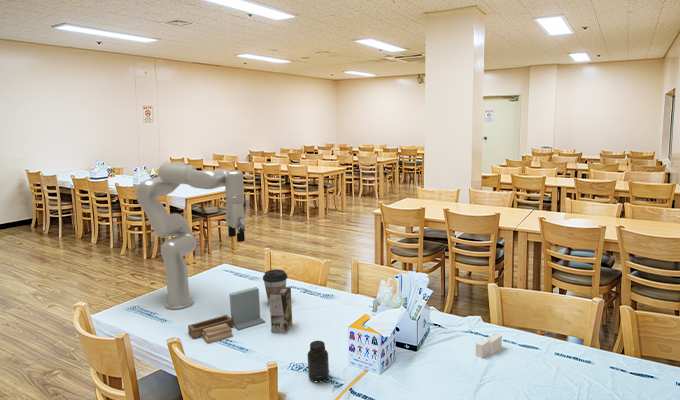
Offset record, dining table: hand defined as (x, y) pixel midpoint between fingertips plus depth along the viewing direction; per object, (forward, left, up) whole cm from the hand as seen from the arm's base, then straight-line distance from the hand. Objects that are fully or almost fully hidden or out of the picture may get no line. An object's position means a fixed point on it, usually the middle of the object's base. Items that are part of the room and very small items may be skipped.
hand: (236, 238), depth 201 cm
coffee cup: (+1, +17, -34) cm, 38 cm away
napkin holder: (+88, +56, -34) cm, 110 cm away
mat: (+10, -2, -34) cm, 35 cm away
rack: (+9, -17, -34) cm, 39 cm away
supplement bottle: (+65, -1, -34) cm, 73 cm away
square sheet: (+10, -2, -33) cm, 35 cm away
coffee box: (+25, +7, -34) cm, 43 cm away
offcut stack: (+16, -17, -34) cm, 41 cm away
